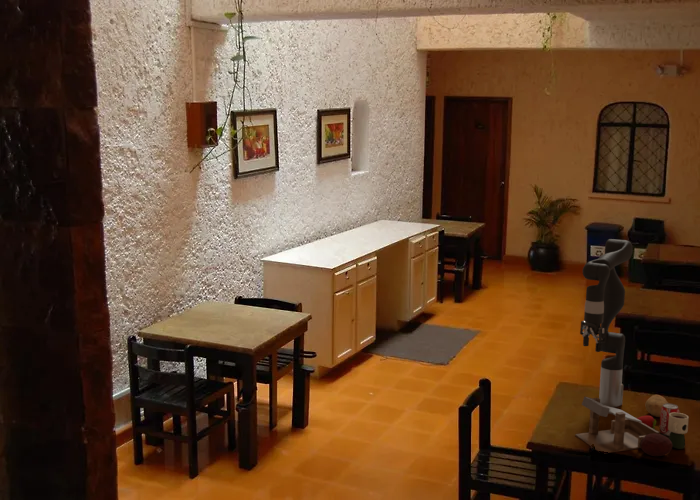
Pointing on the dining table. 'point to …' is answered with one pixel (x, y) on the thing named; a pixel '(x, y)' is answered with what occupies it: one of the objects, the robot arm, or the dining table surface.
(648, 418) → the strawberry
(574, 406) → the dining table surface
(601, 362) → the robot arm
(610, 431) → the stand
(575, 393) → the dining table surface
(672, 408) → the soda can
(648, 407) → the potato
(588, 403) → the trapdoor
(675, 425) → the character mug
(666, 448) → the potato
